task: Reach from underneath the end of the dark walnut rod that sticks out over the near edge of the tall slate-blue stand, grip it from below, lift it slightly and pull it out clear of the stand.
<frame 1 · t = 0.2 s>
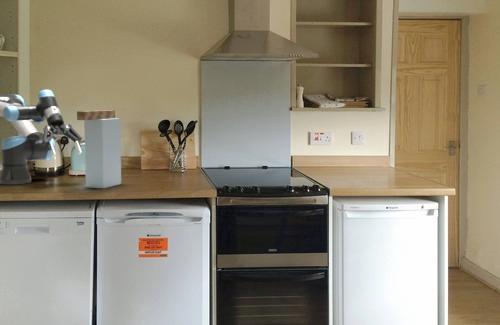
hand: (67, 154, 284), 16 cm above the worktop, fingers open, 13 cm apart
rod: (96, 119, 280), point 33 cm above the worktop, touching stand
stand: (103, 185, 288), on the worktop
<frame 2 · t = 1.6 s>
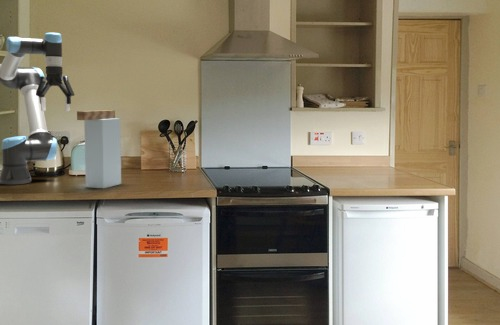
hand: (55, 111, 278), 37 cm above the worktop, fingers open, 13 cm apart
nothing on the worktop moved.
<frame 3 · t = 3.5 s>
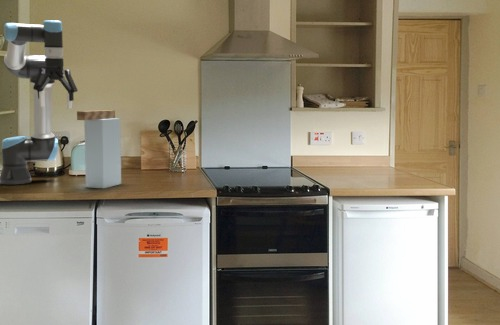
hand: (56, 107, 252), 39 cm above the worktop, fingers open, 13 cm apart
nothing on the worktop moved.
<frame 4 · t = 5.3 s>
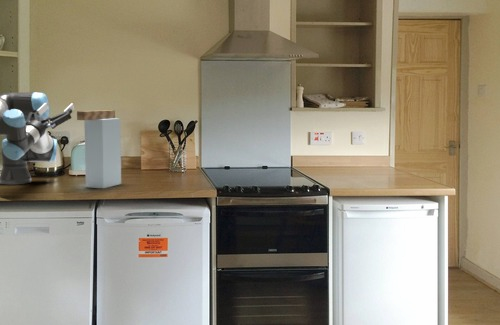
hand: (60, 105, 253), 40 cm above the worktop, fingers open, 13 cm apart
nothing on the worktop moved.
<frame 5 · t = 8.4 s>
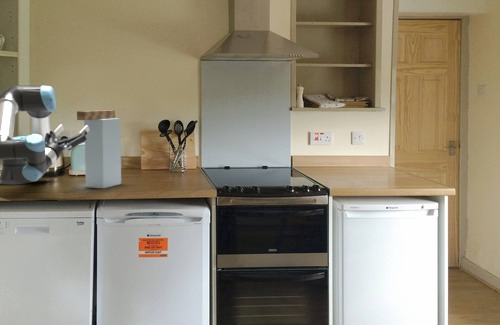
hand: (75, 127, 264), 30 cm above the worktop, fingers open, 13 cm apart
nothing on the worktop moved.
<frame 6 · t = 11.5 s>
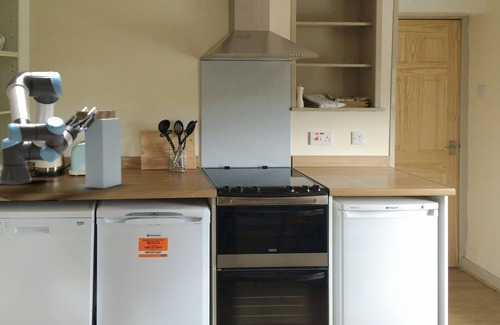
hand: (91, 109, 275), 38 cm above the worktop, fingers closed on rod, 4 cm apart
rod: (96, 119, 280), point 33 cm above the worktop, touching gripper, stand
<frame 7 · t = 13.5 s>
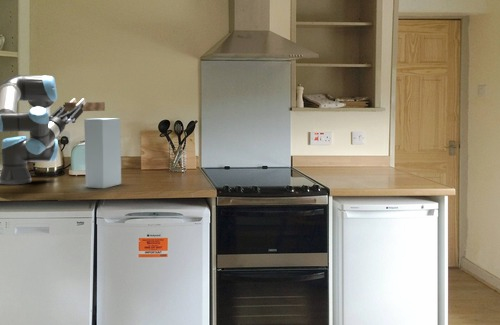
hand: (79, 100, 266), 42 cm above the worktop, fingers closed on rod, 4 cm apart
rod: (85, 110, 271), point 37 cm above the worktop, touching gripper
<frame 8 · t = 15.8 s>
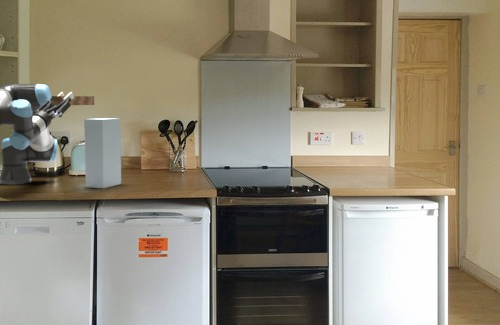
hand: (67, 94, 258), 45 cm above the worktop, fingers closed on rod, 4 cm apart
rod: (73, 105, 262), point 40 cm above the worktop, touching gripper
at the end: the gripper is holding rod; rod moved 19.3 cm from its start; rod touching gripper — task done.
